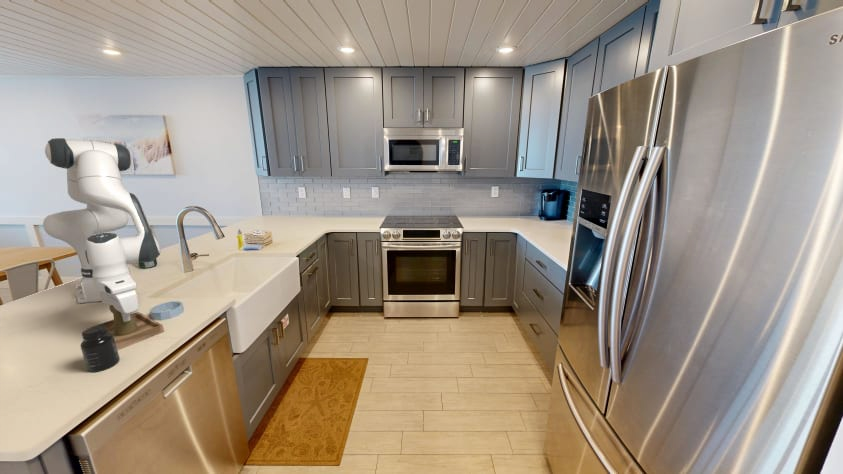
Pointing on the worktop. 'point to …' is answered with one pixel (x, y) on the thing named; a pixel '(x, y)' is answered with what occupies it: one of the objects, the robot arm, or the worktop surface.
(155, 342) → the worktop surface
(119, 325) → the cork
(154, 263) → the coffee jar
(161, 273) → the worktop surface
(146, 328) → the tray
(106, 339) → the supplement bottle
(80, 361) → the worktop surface
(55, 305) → the worktop surface
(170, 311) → the light blue shallow dish
